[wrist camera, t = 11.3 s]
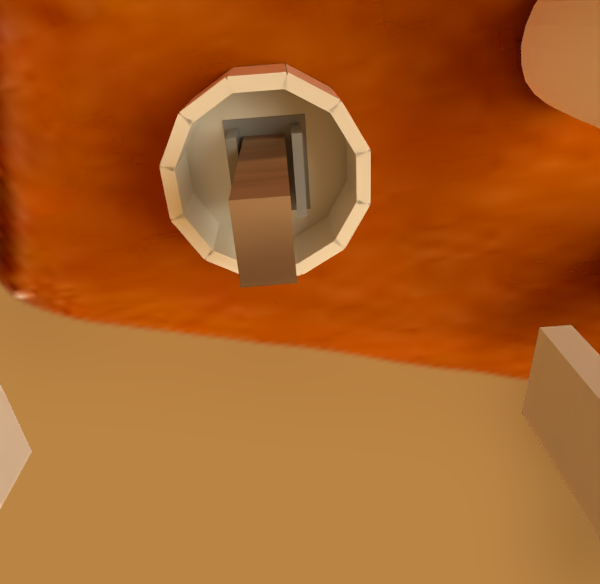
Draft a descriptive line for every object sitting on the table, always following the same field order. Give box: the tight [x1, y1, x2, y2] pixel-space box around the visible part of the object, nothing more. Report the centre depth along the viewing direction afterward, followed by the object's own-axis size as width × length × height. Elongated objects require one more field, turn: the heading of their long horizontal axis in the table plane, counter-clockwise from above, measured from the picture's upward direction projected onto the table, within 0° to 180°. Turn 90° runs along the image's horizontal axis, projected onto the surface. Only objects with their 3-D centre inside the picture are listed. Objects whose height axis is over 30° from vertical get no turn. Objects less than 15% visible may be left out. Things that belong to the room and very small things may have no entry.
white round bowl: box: [159, 63, 371, 276], centre depth 30 cm, size 12×12×5 cm
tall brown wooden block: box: [228, 133, 297, 287], centre depth 26 cm, size 4×2×12 cm, turn 4°
